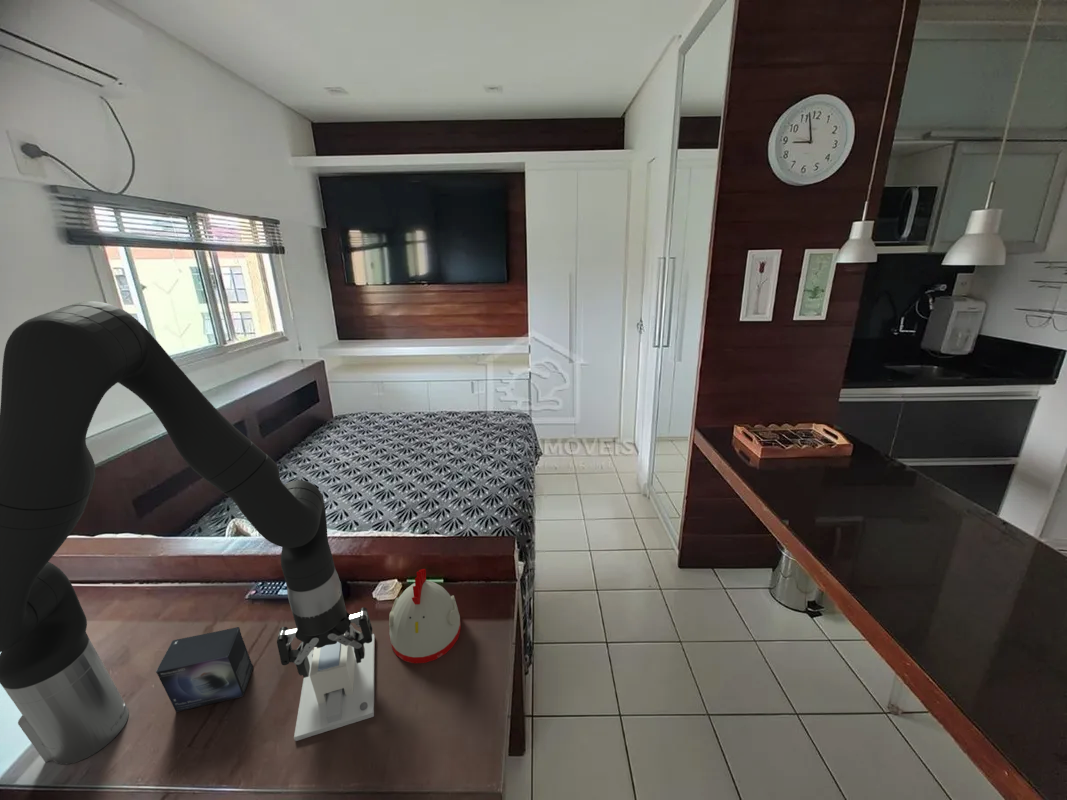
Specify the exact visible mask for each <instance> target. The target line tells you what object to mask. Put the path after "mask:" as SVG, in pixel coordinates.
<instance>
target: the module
mask: <svg viewBox="0 0 1067 800" xmlns="http://www.w3.org/2000/svg"><path fill="white" fill-rule="evenodd" d="M344 635H345V634H344ZM313 650H314V652H313V658H312V665H311V671H310V678H311V682H312V685H313V688H314V692H315V695H316V698H317V702H318V704H320V703H324V702H326V696H327V693H329V692H332V691H336V690H339V689H342V688H344V691H345V695H346V696H347V695H350V694H353V688H354V669H355V656H354V652H353V648H352V646H350V645H347V646H345V645H343V644H341V643H339V642H337V643H336V644H332V645H326V646H323V647H321V648H317V647H314V648H313Z"/></svg>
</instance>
